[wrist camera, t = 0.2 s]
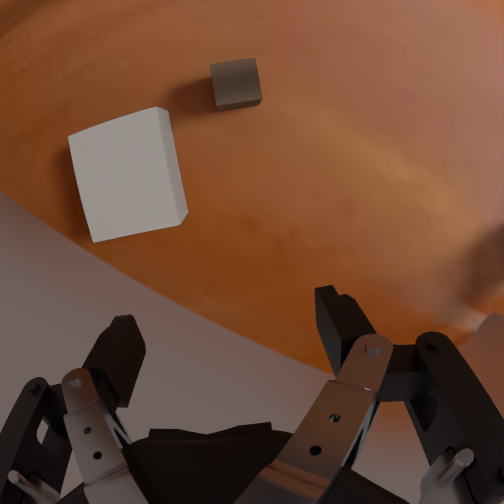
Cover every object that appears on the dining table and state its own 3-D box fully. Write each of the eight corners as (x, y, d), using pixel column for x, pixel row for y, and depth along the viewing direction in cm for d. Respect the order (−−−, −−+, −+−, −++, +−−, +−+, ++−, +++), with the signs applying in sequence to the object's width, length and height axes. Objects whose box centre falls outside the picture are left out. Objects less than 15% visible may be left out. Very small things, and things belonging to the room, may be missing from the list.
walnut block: (213, 76, 32) (209, 64, 27) (252, 70, 32) (255, 57, 27) (219, 111, 34) (216, 105, 29) (258, 105, 34) (262, 98, 29)
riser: (89, 135, 34) (68, 136, 28) (168, 111, 34) (156, 106, 28) (110, 228, 39) (93, 242, 33) (188, 212, 39) (180, 224, 33)
